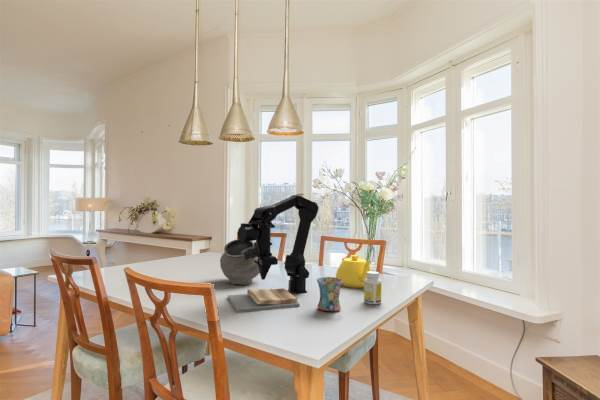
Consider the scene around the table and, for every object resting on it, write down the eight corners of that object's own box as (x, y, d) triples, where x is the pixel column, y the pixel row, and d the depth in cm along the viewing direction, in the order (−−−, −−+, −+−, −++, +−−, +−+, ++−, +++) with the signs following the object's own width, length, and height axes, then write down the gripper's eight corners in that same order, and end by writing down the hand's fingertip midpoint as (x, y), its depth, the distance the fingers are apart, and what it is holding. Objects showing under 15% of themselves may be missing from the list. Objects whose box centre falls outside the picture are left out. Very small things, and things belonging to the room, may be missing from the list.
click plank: (268, 293, 141) (269, 289, 141) (281, 304, 126) (281, 299, 126) (247, 293, 137) (247, 289, 138) (257, 304, 123) (257, 299, 123)
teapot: (387, 289, 155) (387, 259, 155) (352, 292, 149) (352, 260, 149) (358, 277, 178) (358, 251, 178) (327, 280, 172) (327, 252, 172)
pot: (247, 275, 178) (248, 227, 179) (272, 282, 163) (273, 229, 164) (211, 281, 165) (212, 228, 165) (234, 289, 149) (236, 231, 150)
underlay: (283, 293, 145) (283, 291, 145) (299, 306, 127) (299, 303, 127) (227, 297, 136) (227, 295, 136) (237, 312, 118) (237, 309, 118)
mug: (312, 306, 127) (312, 277, 127) (334, 304, 130) (335, 276, 130) (326, 316, 116) (326, 285, 116) (350, 314, 119) (351, 283, 119)
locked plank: (283, 292, 143) (283, 288, 143) (296, 302, 128) (297, 298, 128) (269, 293, 141) (270, 289, 141) (282, 304, 126) (282, 299, 126)
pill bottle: (381, 301, 136) (382, 271, 136) (380, 305, 130) (380, 274, 130) (365, 299, 138) (365, 270, 138) (362, 303, 132) (363, 273, 132)
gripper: (237, 237, 141) (237, 276, 141) (248, 243, 124) (248, 287, 124) (264, 236, 145) (263, 274, 145) (278, 242, 128) (278, 284, 128)
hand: (262, 279), depth 136 cm, fingers closed
